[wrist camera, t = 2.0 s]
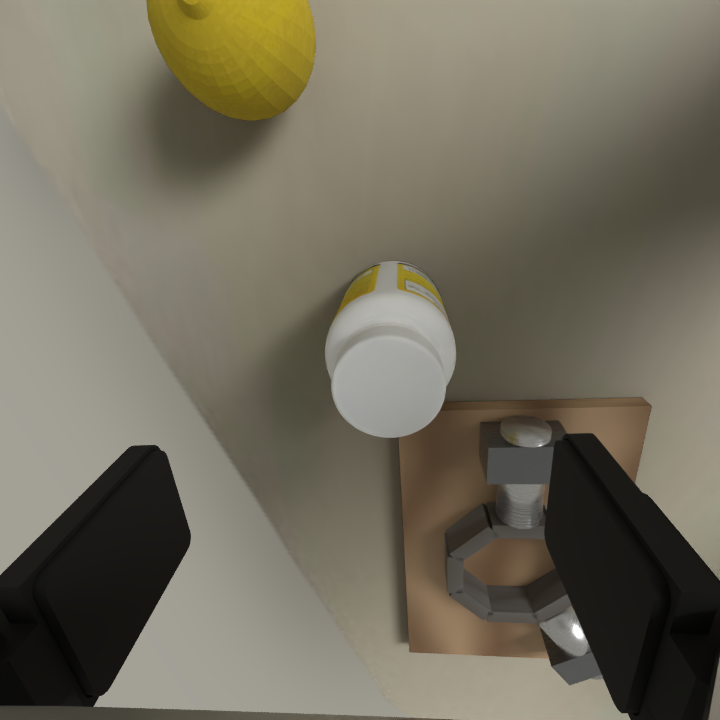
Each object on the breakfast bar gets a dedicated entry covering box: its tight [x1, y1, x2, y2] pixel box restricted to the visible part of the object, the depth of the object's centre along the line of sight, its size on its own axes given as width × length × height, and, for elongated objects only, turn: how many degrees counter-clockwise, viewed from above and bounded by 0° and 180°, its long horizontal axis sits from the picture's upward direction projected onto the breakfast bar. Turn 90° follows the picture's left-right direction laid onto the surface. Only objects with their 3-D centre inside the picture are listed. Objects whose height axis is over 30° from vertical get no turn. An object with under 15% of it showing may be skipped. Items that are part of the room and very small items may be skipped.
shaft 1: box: [479, 415, 568, 529], centre depth 24 cm, size 6×4×4 cm
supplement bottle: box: [325, 261, 456, 438], centre depth 19 cm, size 5×5×10 cm
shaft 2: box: [537, 606, 603, 685], centre depth 29 cm, size 6×4×4 cm
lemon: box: [146, 0, 316, 121], centre depth 15 cm, size 6×6×8 cm
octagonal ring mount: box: [398, 397, 652, 658], centre depth 28 cm, size 14×22×3 cm, turn 5°
